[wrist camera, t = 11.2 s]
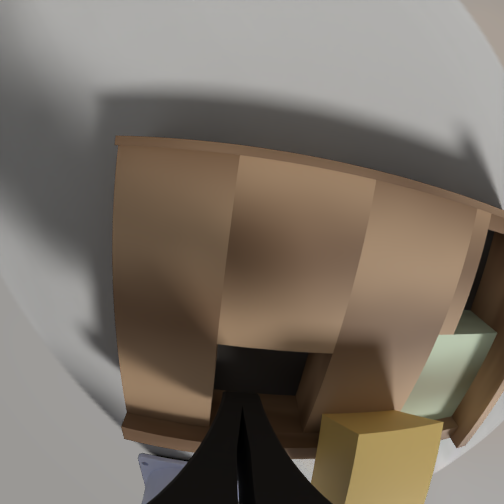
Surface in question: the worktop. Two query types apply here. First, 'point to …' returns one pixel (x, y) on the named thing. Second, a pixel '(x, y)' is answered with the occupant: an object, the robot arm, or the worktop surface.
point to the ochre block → (376, 457)
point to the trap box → (298, 292)
